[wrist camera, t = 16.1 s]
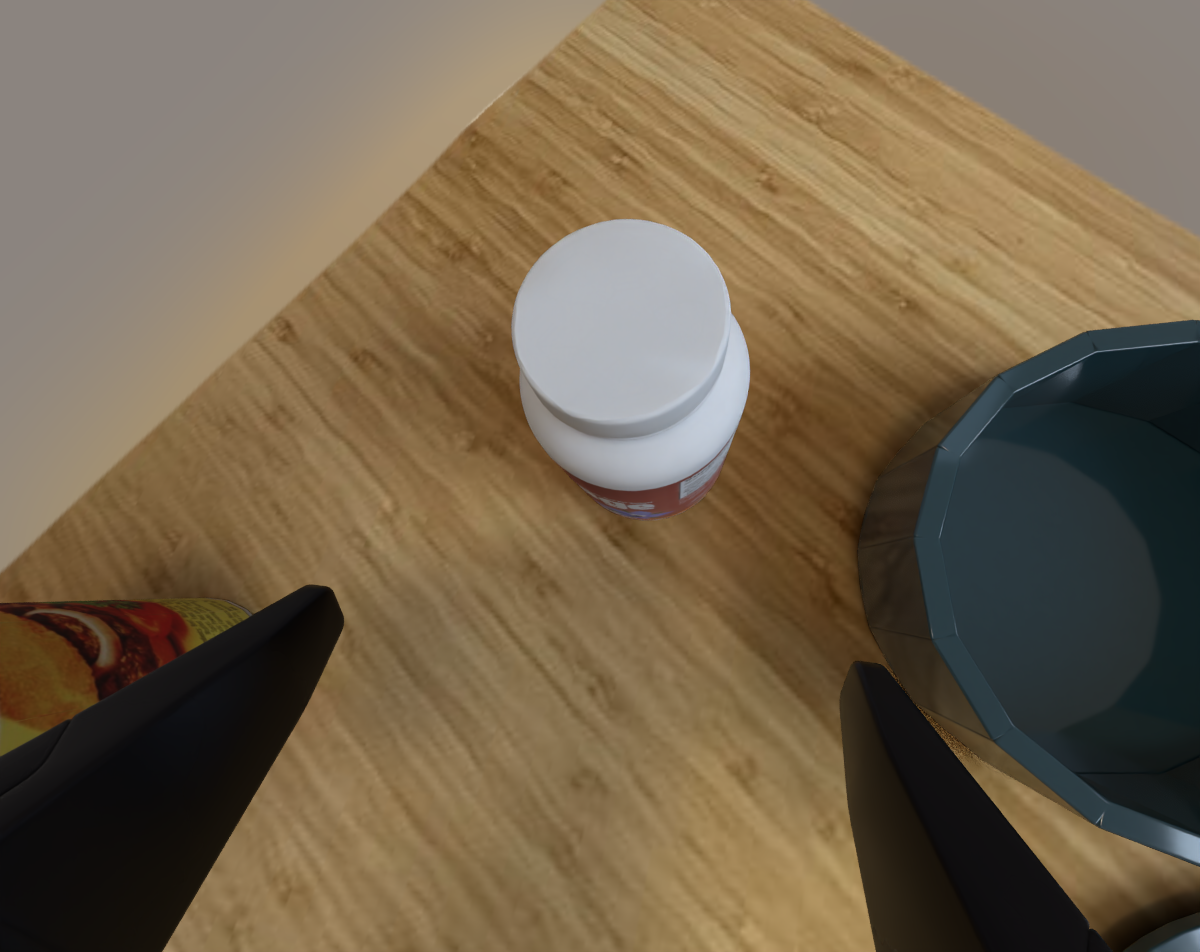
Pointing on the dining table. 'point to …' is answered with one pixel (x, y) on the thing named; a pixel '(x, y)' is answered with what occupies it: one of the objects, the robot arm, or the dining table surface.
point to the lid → (1171, 937)
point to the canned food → (91, 653)
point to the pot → (1058, 577)
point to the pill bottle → (631, 365)
